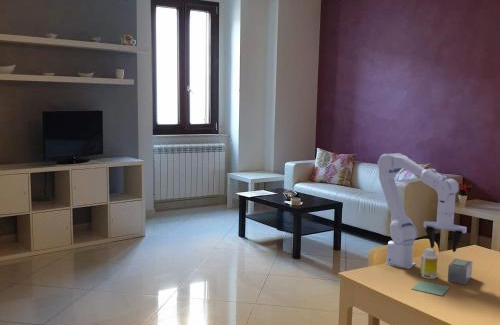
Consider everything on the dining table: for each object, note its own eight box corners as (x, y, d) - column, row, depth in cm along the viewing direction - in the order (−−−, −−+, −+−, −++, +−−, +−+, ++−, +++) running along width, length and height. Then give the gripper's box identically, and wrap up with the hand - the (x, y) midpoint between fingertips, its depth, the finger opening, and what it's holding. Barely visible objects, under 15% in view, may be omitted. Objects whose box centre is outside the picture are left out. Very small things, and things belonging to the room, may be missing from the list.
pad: (411, 289, 171) (411, 288, 171) (420, 281, 179) (420, 280, 179) (442, 296, 166) (442, 295, 166) (449, 287, 174) (449, 286, 174)
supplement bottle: (439, 278, 183) (441, 250, 182) (427, 280, 181) (429, 252, 180) (428, 273, 188) (429, 246, 187) (416, 275, 186) (418, 248, 185)
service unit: (447, 281, 180) (448, 264, 179) (454, 273, 188) (455, 257, 188) (465, 285, 177) (466, 267, 176) (471, 277, 185) (472, 260, 184)
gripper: (422, 211, 183) (419, 248, 184) (464, 217, 175) (461, 255, 176) (427, 208, 189) (425, 244, 190) (468, 213, 181) (466, 250, 182)
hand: (443, 249), depth 184 cm, fingers open, 7 cm apart
